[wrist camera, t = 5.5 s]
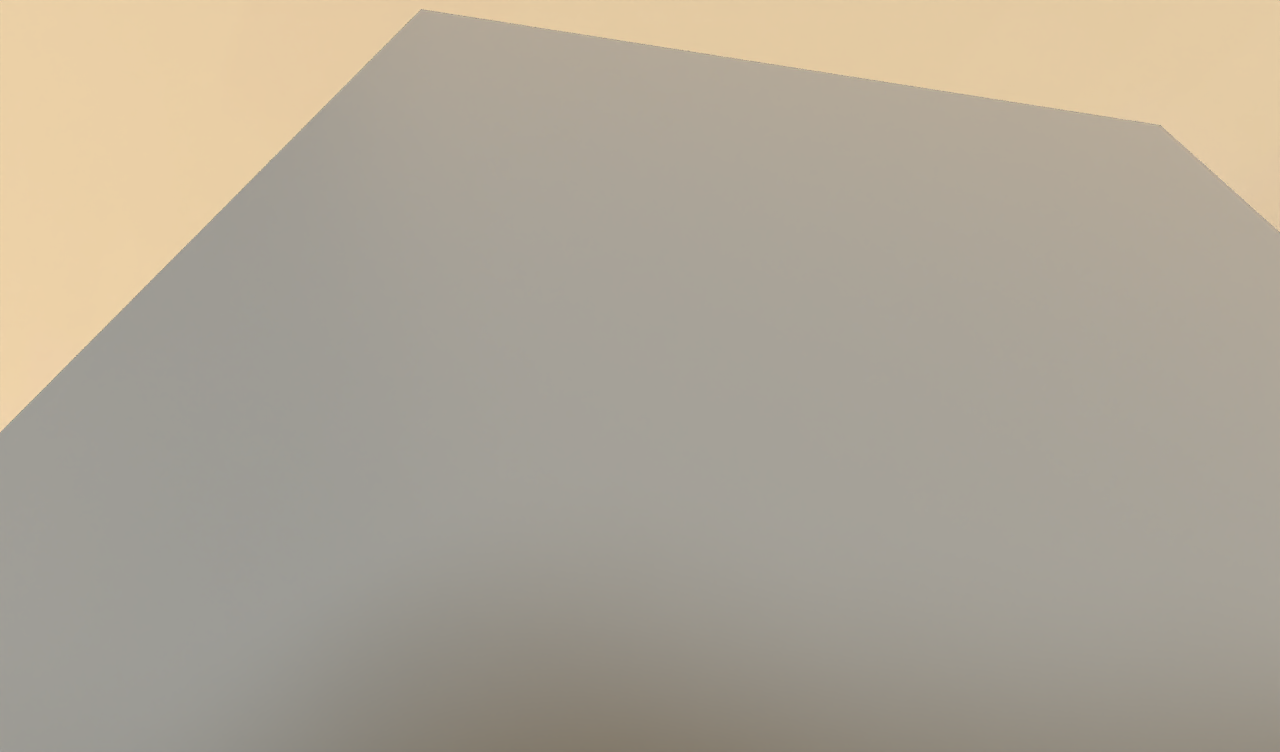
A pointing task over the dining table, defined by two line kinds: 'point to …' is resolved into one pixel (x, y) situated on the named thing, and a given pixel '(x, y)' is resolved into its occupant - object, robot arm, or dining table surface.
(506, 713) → the grey faceted block
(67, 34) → the dining table surface
